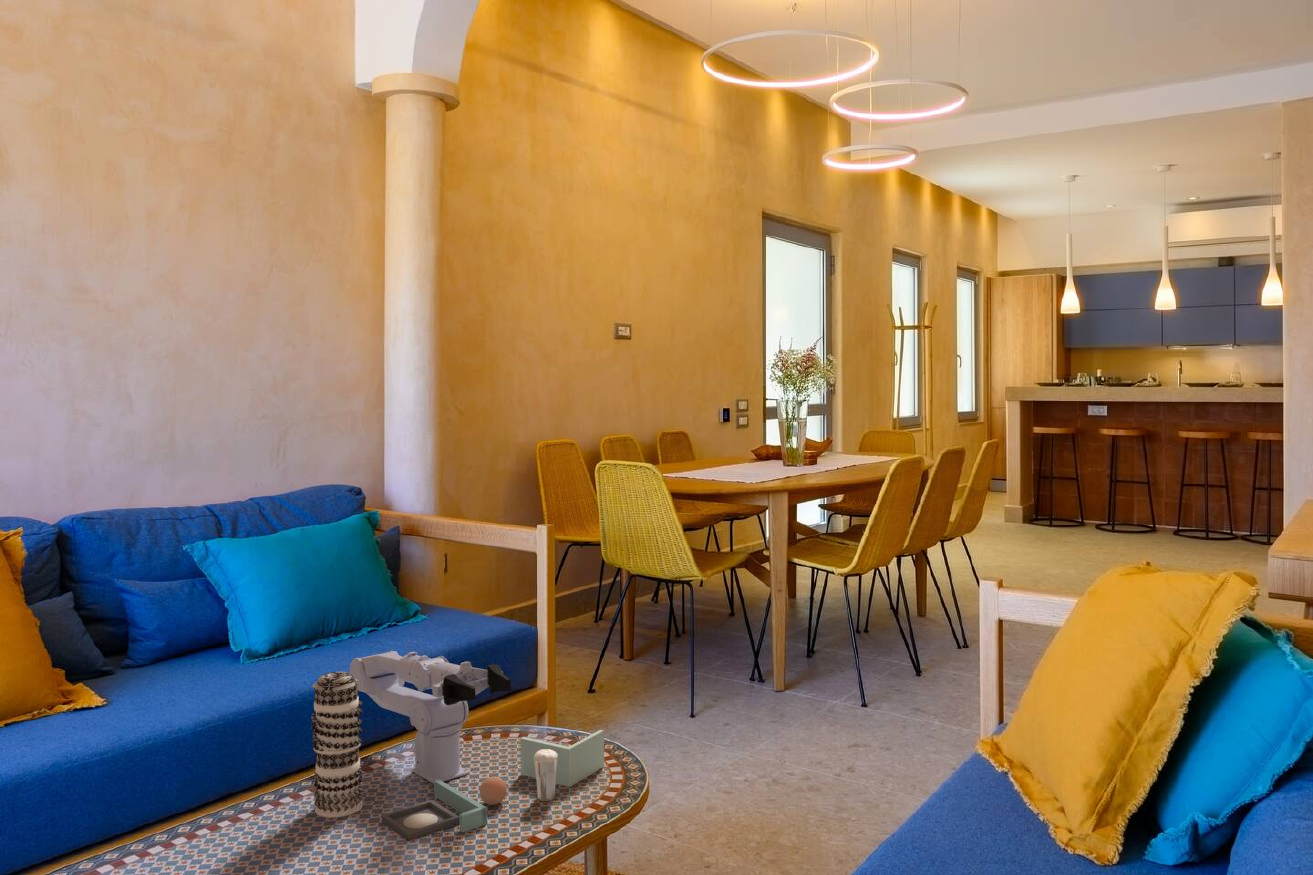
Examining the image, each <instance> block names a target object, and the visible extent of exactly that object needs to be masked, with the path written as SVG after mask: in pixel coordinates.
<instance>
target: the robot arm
mask: <svg viewBox="0 0 1313 875" xmlns="http://www.w3.org/2000/svg"><path fill="white" fill-rule="evenodd" d="M349 673H350V674H351V675H352V676H353V677H354V678H355V679H357V680H358V681H359V682H358V684H357V691H359V692H363V693H365V694H366V695H368V696H369V698H370V699H372V700H373V701H374V702H375V703H376V704H377V705H378V706H379V707H380V708H382V709H385V710H388V711H391V712H394V713H398V714H400V715H403V716H406V717H408V718H409V720H410V725H411V726H413V727H415V729H416V730H417V733H416V735H415V737H414V762H415V764H414V766H415V767H412V768H411V769H410V770H411V772H413V773H415V775H417V776H419V777H421V778H423V779H425V780H426V781H428V782H430V783H431V784H433V785H434V781H435V780H438V779H439V780H440V781H442V782H446V781H449V780H453V779H455V778H458V777H464V776H466V775H468V774H469V773H470V772H469V770H467V769H466V768H463V767H462V766H461V752H460V750H461V749H460V746H461V745H460V730H462V729H463V724H465V723H466V722H467V720H468V717H469V705H468V701H469V702H470V701H473V700H474V701H475V700H476V699H477V698H476V697H477V695H478V694H480V693H481V692H483V691H484V690H485V689H487V688H489V690H490V692H489V694H490V696H491V695H495V694H499V693H501V692H504V693H505V692H508V691H509V692H510V691H511V690H512V685H511V683H512V682H511V681H512V680H511V679H510V678H509V677H508V676H506V675H505V674H504V671H502V668H501V667H500V665H499V664H496V663H493V664H490V665H487V668H486V669H483V668H478V667H473V666H472V663H471V662H470V661H464V662H461V663H460V665H459V664H455V663H451V662H449V660H448V659H447V658H446V657H444V656H443V655H439V656H437V657H434V658H430V657H428V655H425V654H424V655H418V653H417V651H410V652H408V653H407V654H405V655H404V656H402V655H399V653H398V651H397V650H396V651H394V650H390V651H387V652H384V653H379V654H373V655H369V656H362V657H355V658H353V659H352V661H351V662H350V665H349ZM405 682H406V683H409V684H413V686H414V687H415V688H416V689H417V690H415V689H413V688H409V687H406V686H405ZM425 690H432V694H429V693H425V692H423V691H425Z"/></svg>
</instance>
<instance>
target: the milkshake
mask: <svg viewBox="0 0 1313 875" xmlns="http://www.w3.org/2000/svg"><path fill="white" fill-rule="evenodd" d="M561 748H562V747H561ZM560 750H561V749H560ZM559 752H560V751H559ZM558 755H559V753H558V754H557V753H556V752H555V751H553V750H550V749H542V750H539V751H537V753H536V754H535V755H534V764H535V772H536V778H535V780H536V793H537V800H539V801H541V802H551V801H553V800H554V799H555V797H556V771H557V761H558Z"/></svg>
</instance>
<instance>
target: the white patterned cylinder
mask: <svg viewBox="0 0 1313 875" xmlns="http://www.w3.org/2000/svg"><path fill="white" fill-rule="evenodd" d="M358 682H359V681H358V680H357V679H355V678H354V677H353V676H352V675H351V674H350V672H347V671H332V672H327V673H323V674H322V675H321V676H319V677H318V679H317V681H316V682H314V683H313V684H312V688H313V689H314V702H313V710H314V711H313V713H312V714H311V715H310V716H311V718H310V721H311V727H310V729H311V730H312V731H313V732H312V744H313V745H312V746H311V747H312V748H313V751H314V752H315V753H316V763H315V772H314V775H313V778H314V779H315V781H314V783H313V784H314V785H313V786H314V787H315V790H314V793H313V797H314V798H315V799H314V806H315V809H314V810H315V814H317V815H318V816H319V817H323V818H332V819H333V818H341V817H347V816H350V815H353V814H354V813H357V812H359V811H360V810H361V809H362V807H363V805H364V804H363V799H364V797H363V796H364V794H363V793H362V792H363V788H364V786H363V785H362V782H363V775H362V774H363V767H361V758H360V747H361V746H362V738H360V737H359V736H360V735H361V734H362V733H363V728H362V727H360V726H362V724H363V720H362V719H360V718H359V717H360V716H361V715H363V713H364V711H363V709H362V708H360V707H362V706H363V701H362V700H359V698H360V697H359V694H358V690H357V684H358Z"/></svg>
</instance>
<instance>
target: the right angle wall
mask: <svg viewBox="0 0 1313 875" xmlns="http://www.w3.org/2000/svg"><path fill="white" fill-rule="evenodd" d="M561 747H562V748H561ZM542 749H550V750H553V751H555V752H556V753H557V754H558V753H559V755H558V761H557V771H556V784H557V785H561V786H565V787H569V788H570V787H572V786H574V785H575V784H577V783H579V782H581V781H582V780H583V779H585V778H587V777H589V776H590V775H592V774H594V773H596V772H597V771H598V770H600V769H601V768H604V767H605V731H604V730H603V729H600V730H597V731H595V732H593V733H592V734H590V735H588V736H586V737H585V738H582V739H580V740H579V741H577V742H575V743H574V744H572V745H570V746H566V745H561V744H558V743H554V742H549V741H544V740H540V739H535V738H532V737H528V736H522V737H521V738H520V775H521V776H526V777H529V778H533V779H536V772H535V764H534V755H535V754H536V753H537V751H539V750H542ZM560 749H561V750H560ZM559 751H560V752H559Z"/></svg>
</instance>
